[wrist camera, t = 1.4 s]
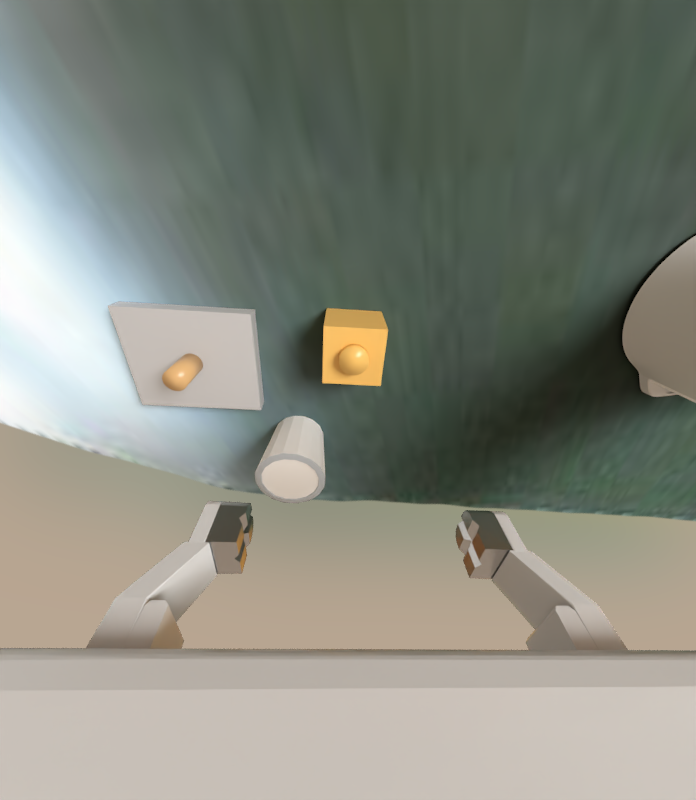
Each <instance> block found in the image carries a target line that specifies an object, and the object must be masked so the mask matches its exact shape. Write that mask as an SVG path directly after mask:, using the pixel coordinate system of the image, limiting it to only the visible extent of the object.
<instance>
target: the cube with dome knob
mask: <svg viewBox="0 0 696 800" xmlns="http://www.w3.org/2000/svg"><path fill="white" fill-rule="evenodd" d="M387 334H388V328H387V325H386V323H385V320H384V317H383V314H382V312H381V311H365V310H348V309H331V308H327V310H326V315H325V321H324V328H323V377H322V383H331V384H351V385H371V386H381V378H382V371H383V364H384V356H385V349H386V342H387Z"/></svg>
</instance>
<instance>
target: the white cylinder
mask: <svg viewBox="0 0 696 800" xmlns="http://www.w3.org/2000/svg"><path fill="white" fill-rule="evenodd" d="M255 480H256V484H257V485H258V487H259V488H260V490H261V491H262V492H263V493H264V494H266V495H267V496H269V497H271V498H272V499H275V500H278V501H281V502H285V503H300V502H305V501H309V500H311V499H313V498H314V497H316V496H318V495H319V494H320V492H321V491H322V490H323V488H324V487H325V460H324V441H323V432H322V430H321V427H320V426H319V425H318V424H317V423H316V422H315V421H314V420H312V419H310V418H307V417H305V416H291V417H288V418H285V419H283V420H282V421H281V422H280V423H278V425H277V427H276V429H275V431H274V433H273V436H272V438H271V440H270V442H269V444H268V446H267V448H266V450H265V452H264V454H263V457H262V459H261V461H260V463H259V465H258V467H257V469H256V471H255Z"/></svg>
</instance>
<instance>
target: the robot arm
mask: <svg viewBox="0 0 696 800" xmlns="http://www.w3.org/2000/svg"><path fill="white" fill-rule="evenodd" d="M622 341H623V348H624V352H625V354H626V356H627V358H628V360H629V361H630V362H631V363H632V364H633V366H634V367H635V368H636V369H637V370H638V372H639V381H640V388H641V390H642V392H644V393H646V394H648V395H650V396H652V397H662V396H671V395H680V396H682V397H684V398H686V399H688V400H691V401H693V402H695V403H696V236H694V237H693V238H691V239H690V240H688V241H687V242H686V243H684V244H683V245H682V246H680V247H679V248H678V249H677V250H675V251H674V252H673V253H672V254H671V255H670V256H669V257H667V258H666V259H665V260H664V261H663V262H662V263H661V264H660V265H659V266H658V267H657V269H656V270H655V271H654V272H653V273H652V274H651V275H650V277H649V278H648V279H647V280H646V282H645V283H644V284H643V286H642V287H641V289H640V290H639V292H638V293H637V295H636V297H635V298H634V300H633V302H632V304H631V306H630V308H629V311H628V313H627V316H626V319H625V323H624V327H623V335H622ZM251 511H252V507H251V503H238V502H237V503H236V502H220V501H208V502H207V503H206V505H205V506H204V509H203V511H202V513H201V515H200V518H199V519H198V522H197V524H196V526H195V528H194V530H193V533H192V535H191V537H190V540H189V541H188V542H183V543H182V544H181V545H180V546H178V547H177V548H176V549H175V550H173V551H172V552H171V553H170V554H168V555H167V556H166V557H165V558H164V559H162V560H161V561H160V562H159V563H157V564H156V565H155V566H154V567H152V568H151V569H150V570H149V571H148V572H146V573H145V574H144V575H143V576H141V577H140V578H139V579H138V580H136V581H135V582H134V583H133V584H132V585H130V586H129V587H128V588H127V589H125V590H124V591H123V592H122V593H121V594H119V595H118V596H117V597H116V598H115V599H114V601H113V602H112V604H111V606H110V608H109V609H108V611H107V613H106V614H105V616H104V618H103V620H102V621H101V623H100V625H99V627H98V628H97V630H96V632H95V634H94V635H93V637H92V638H91V640H90V642H89V644H88V645H87V647H86V648H83V649H82V648H0V800H696V651H668V650H660V651H658V650H657V651H655V650H652V651H651V650H645V651H644V650H637V651H636V650H628V649H627V648H626V646H625V645H624V643H623V642H622V640H621V639H620V637H619V636H618V634H617V633H616V631H615V630H614V628H613V627H612V625H611V624H610V622H609V621H608V619H607V618H606V616H605V615H604V613H603V612H602V610H601V609H600V607H599V606H598V605H597V604H596V603H595V602H594V601H592V600H591V599H590V598H589V597H587V596H586V595H585V594H584V593H583V592H581V591H580V590H579V589H578V588H576V587H575V586H574V585H573V584H571V583H570V582H569V581H568V580H566V579H565V578H564V577H563V576H562V575H560V574H559V573H558V572H556V571H555V570H554V569H553V568H552V567H550V566H549V565H548V564H547V563H545V562H544V561H543V560H542V559H541V558H539V557H538V556H537V555H536V554H534V553H533V552H532V551H527V549H526V547H525V546H524V544H523V542H522V540H521V539H520V537H519V535H518V534H517V531H516V530H515V528H514V526H513V525H512V523H511V521H510V519H509V517H508V516H507V514H506V513H505V512H497V511H468V510H467V511H464V512H463V514H462V516H461V517H462V519H463V521H462V522H460V523H459V524H458V525H457V528H456V541H457V544H458V547H459V549H460V550H461V551H462V552H463V553H464V554H465V557H464V560H463V561H464V564H465V567H466V570H467V572H468V575H469V577H470V578H479V579H492V581H493V583H494V584H495V585H496V586H497V587H498V588H499V589H500V590H501V592H502V593H503V594H504V595H505V596H506V597H507V598H508V599H509V601H510V602H511V603H512V604H513V605H514V606H515V607H516V609H517V610H518V611H519V612H520V613H521V614H522V615H523V616H524V618H525V619H526V620H527V621H528V622H529V623H530V624H531V626H532V627H533V628H534V629H535V630H534V632H533V633H532V634H531V635H530V636H529V637H528V639H527V641H526V644H527V646H528V649H529V650H405V649H398V650H397V649H396V650H395V649H393V650H392V649H181V648H182V645H183V642H184V640H183V637H182V635H181V633H180V630H179V628H178V626H177V623H176V622H177V620H178V619H179V618H180V617H181V616H182V615H183V614H184V613H185V611H186V610H187V609H188V608H189V607H190V606H191V604H192V603H193V602H194V601H195V600H196V599H197V598H198V597H199V595H200V594H201V593H202V592H203V591H204V590H205V588H206V587H207V586H208V585H209V584H210V583H211V582H212V581H213V579H214V578H215V577H216V576H217V574H221V573H222V574H225V573H226V574H228V573H229V574H230V573H231V574H233V573H242V571H243V567H244V564H245V560H246V556H247V553H246V547H247V546H248V545H249V544H250V541H251V537H252V532H253V517H252V516H251V515H250V514H251Z"/></svg>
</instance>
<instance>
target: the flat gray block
mask: <svg viewBox="0 0 696 800" xmlns="http://www.w3.org/2000/svg"><path fill="white" fill-rule="evenodd" d="M108 308H109V311H110V314H111V317H112V320H113V322H114V325H115V328H116V331H117V334H118V337H119V339H120V342H121V345H122V348H123V351H124V354H125V356H126V359H127V362H128V365H129V368H130V371H131V373H132V376H133V379H134V382H135V385H136V388H137V390H138V393H139V396H140V399H141V402H142V405H161V406H183V407H205V408H227V409H249V410H261V409H262V406H263V404H264V396H263V386H262V376H261V366H260V355H259V345H258V335H257V325H256V315H255V309H238V308H222V307H205V306H188V305H171V304H154V303H137V302H120V301H119V302H116V303H114V304H111V305H109V306H108Z"/></svg>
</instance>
